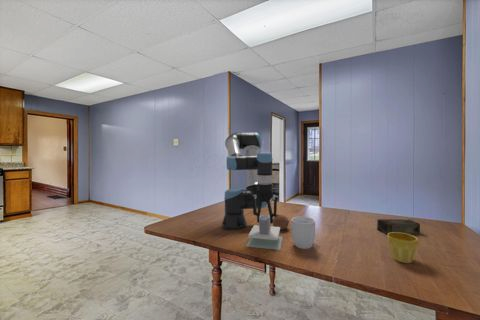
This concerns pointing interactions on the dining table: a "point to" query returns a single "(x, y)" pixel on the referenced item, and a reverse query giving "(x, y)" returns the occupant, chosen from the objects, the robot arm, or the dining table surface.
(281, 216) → the onion
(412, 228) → the beverage carton
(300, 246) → the mug
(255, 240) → the mat
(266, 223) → the lid
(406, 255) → the plant pot
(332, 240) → the dining table surface
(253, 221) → the dining table surface
